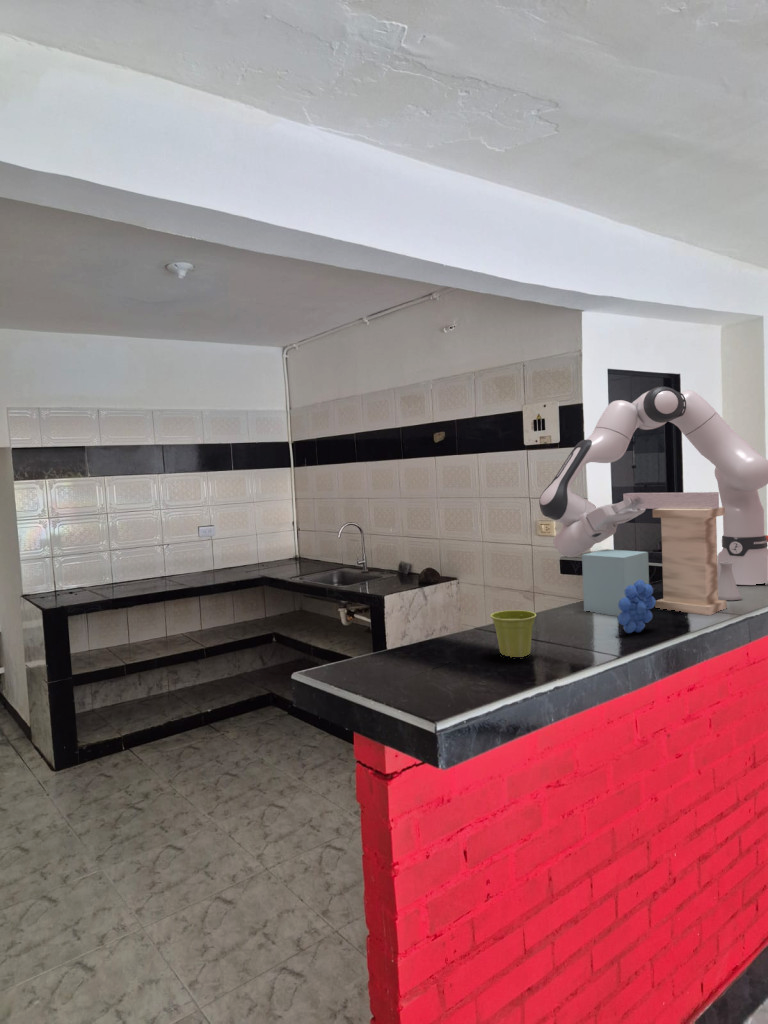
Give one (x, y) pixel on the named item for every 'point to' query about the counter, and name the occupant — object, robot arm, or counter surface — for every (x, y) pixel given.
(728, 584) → the flask
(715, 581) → the birch stand
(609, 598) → the block
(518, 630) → the plant pot
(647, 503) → the pink bar
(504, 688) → the counter surface
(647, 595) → the grapes
